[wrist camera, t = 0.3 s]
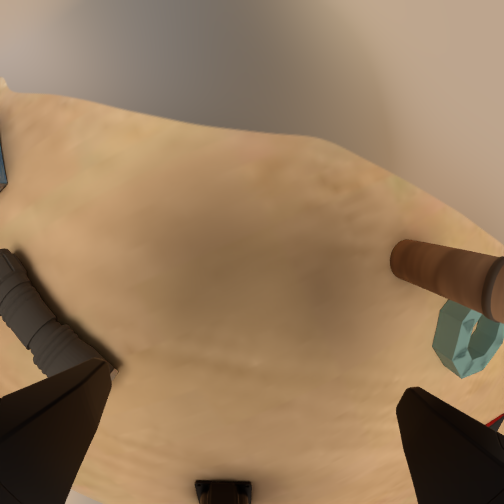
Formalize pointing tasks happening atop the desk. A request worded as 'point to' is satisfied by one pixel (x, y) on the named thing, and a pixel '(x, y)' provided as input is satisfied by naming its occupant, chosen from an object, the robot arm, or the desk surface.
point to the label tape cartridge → (2, 173)
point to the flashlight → (39, 322)
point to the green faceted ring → (466, 339)
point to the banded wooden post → (453, 275)
